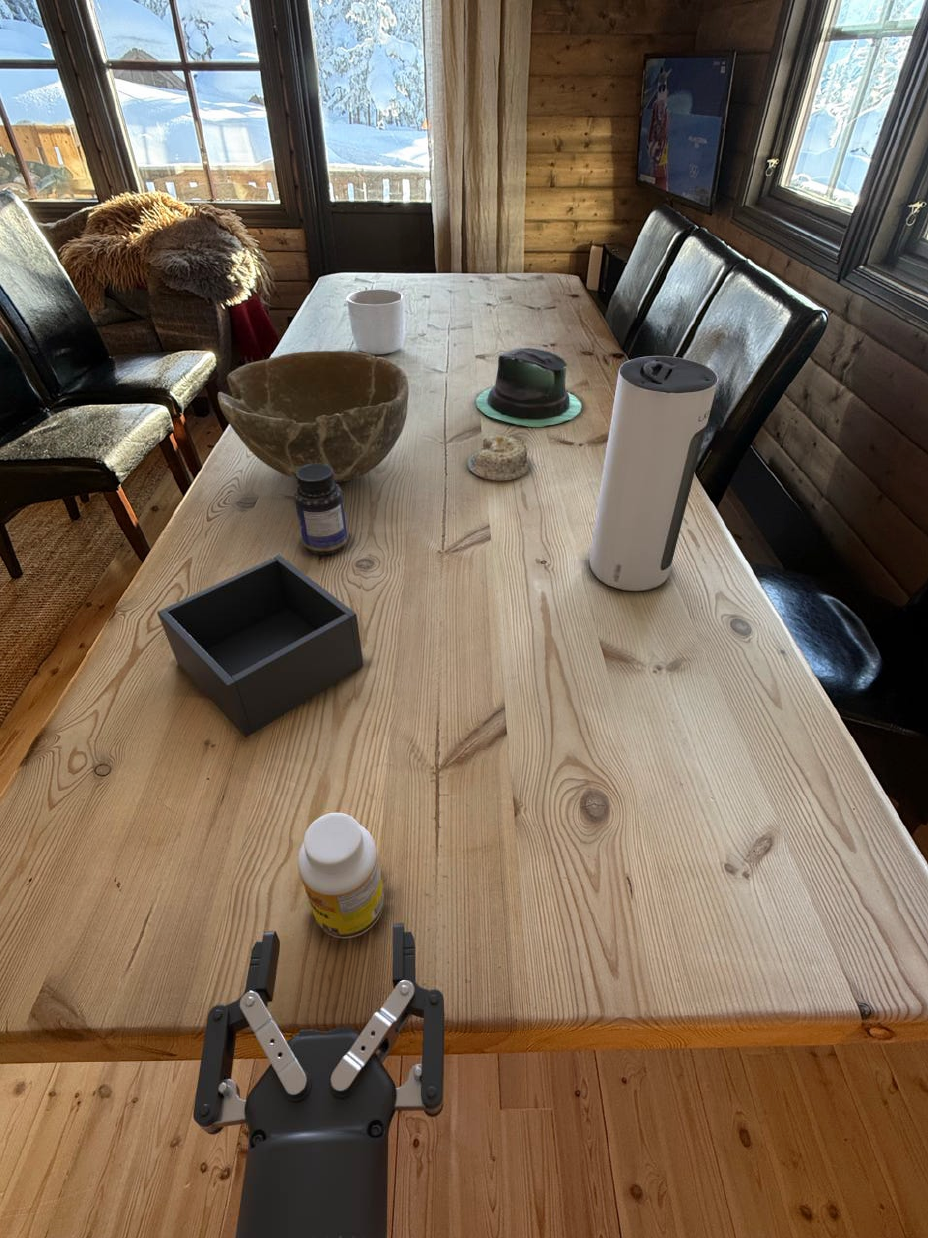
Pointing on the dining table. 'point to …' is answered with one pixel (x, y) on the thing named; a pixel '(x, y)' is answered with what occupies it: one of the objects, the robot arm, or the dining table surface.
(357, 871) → the supplement bottle
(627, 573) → the speaker
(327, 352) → the bowl
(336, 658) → the open storage box
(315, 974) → the dining table surface
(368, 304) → the planter
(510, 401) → the fedora hat
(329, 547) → the pill bottle
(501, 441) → the cake
